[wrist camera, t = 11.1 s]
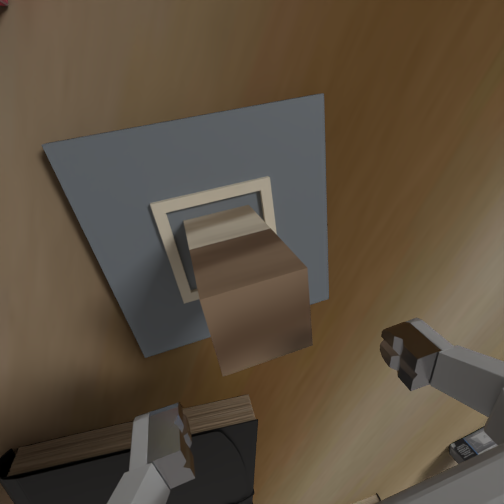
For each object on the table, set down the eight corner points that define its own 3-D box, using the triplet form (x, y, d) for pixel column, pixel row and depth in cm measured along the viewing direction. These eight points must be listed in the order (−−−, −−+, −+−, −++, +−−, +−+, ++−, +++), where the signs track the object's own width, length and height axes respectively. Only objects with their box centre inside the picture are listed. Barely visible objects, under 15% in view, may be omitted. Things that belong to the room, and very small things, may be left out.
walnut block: (189, 249, 16) (199, 299, 12) (270, 228, 17) (307, 267, 13) (208, 315, 19) (223, 376, 14) (279, 293, 20) (312, 345, 15)
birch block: (183, 220, 21) (189, 249, 16) (248, 204, 21) (270, 228, 17) (199, 277, 23) (208, 315, 19) (257, 260, 24) (279, 293, 20)
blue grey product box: (486, 424, 58) (559, 495, 47) (483, 433, 60) (553, 504, 49) (449, 443, 57) (516, 520, 46) (447, 453, 59) (511, 528, 48)
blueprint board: (47, 143, 17) (38, 145, 16) (317, 94, 20) (326, 93, 19) (145, 349, 26) (144, 361, 25) (323, 293, 29) (331, 300, 28)
